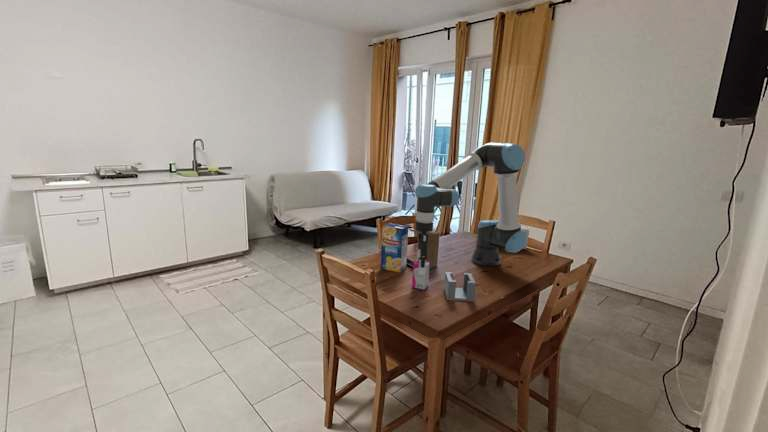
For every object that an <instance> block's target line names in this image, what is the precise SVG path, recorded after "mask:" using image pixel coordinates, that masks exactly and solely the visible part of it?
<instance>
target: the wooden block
mask: <svg viewBox="0 0 768 432" xmlns="http://www.w3.org/2000/svg"><path fill="white" fill-rule="evenodd" d="M427 234H428V244H427V260H426V262H430V264H429V270H430V269H433V268H435V267H438V259H439V257H438V256H439V248H440V247H439V246H440V232H439V231H438V232H437V231H435V230H432V231H431V232H427ZM423 257H425V256H423Z"/></svg>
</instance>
